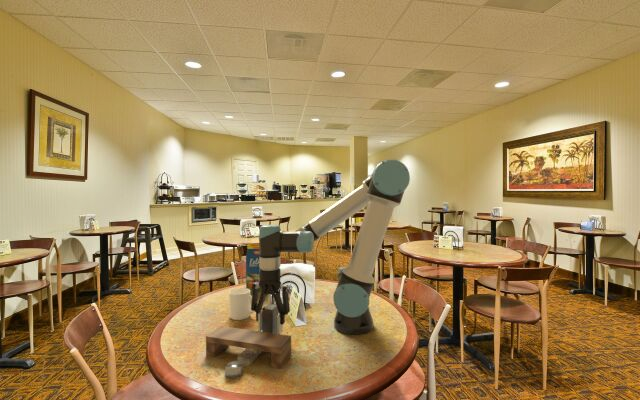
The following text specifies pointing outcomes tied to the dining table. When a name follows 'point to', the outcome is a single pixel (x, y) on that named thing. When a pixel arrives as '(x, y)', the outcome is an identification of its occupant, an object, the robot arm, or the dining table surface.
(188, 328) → the dining table surface
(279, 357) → the riser
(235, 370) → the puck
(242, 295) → the mug
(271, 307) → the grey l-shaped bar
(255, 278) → the blue food package
